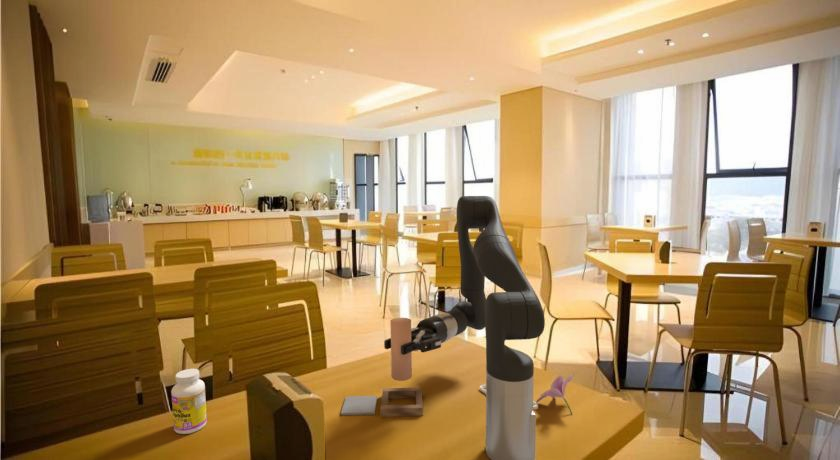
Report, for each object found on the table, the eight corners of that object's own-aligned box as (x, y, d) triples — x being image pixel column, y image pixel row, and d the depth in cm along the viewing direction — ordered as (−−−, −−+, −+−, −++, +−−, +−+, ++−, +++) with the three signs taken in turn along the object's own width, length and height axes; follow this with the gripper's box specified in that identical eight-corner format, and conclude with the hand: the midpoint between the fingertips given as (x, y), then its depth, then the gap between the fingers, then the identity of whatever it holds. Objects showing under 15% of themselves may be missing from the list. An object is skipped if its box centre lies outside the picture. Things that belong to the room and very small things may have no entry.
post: (411, 371, 106) (411, 317, 104) (411, 380, 101) (411, 323, 99) (391, 372, 106) (390, 317, 104) (391, 381, 101) (389, 324, 99)
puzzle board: (421, 394, 109) (421, 387, 109) (422, 415, 99) (422, 407, 99) (383, 395, 109) (383, 388, 109) (380, 416, 99) (380, 408, 99)
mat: (377, 397, 108) (377, 395, 108) (374, 414, 100) (374, 412, 100) (345, 398, 108) (345, 396, 108) (340, 415, 100) (340, 413, 100)
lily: (580, 401, 107) (563, 365, 110) (601, 407, 96) (581, 365, 98) (538, 420, 106) (522, 382, 108) (554, 427, 94) (536, 385, 97)
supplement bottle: (166, 432, 93) (162, 377, 92) (190, 417, 100) (187, 365, 98) (190, 437, 91) (186, 381, 90) (213, 421, 98) (210, 368, 96)
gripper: (417, 311, 118) (372, 326, 105) (459, 321, 108) (415, 339, 95) (417, 337, 118) (373, 355, 105) (459, 349, 109) (416, 371, 96)
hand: (393, 347), depth 100 cm, fingers closed on post, 5 cm apart
